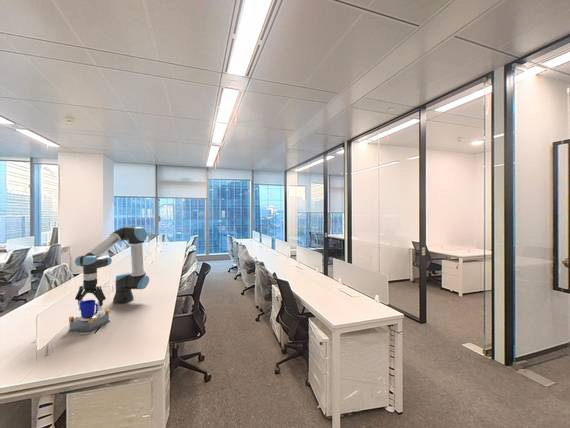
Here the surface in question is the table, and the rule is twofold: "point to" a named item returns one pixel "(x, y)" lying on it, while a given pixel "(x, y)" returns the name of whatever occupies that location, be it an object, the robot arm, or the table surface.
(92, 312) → the mug
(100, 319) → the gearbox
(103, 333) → the table surface
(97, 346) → the table surface
